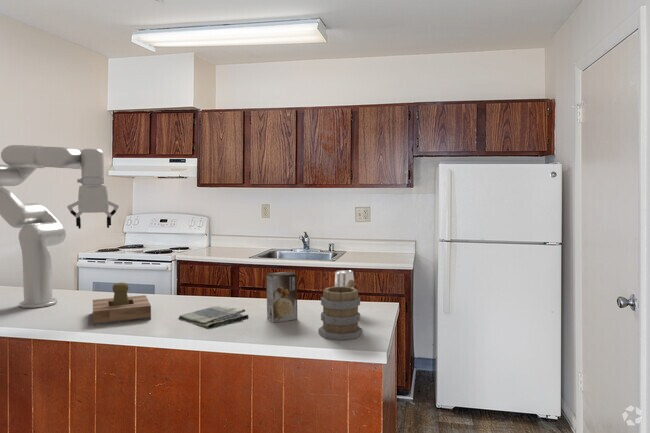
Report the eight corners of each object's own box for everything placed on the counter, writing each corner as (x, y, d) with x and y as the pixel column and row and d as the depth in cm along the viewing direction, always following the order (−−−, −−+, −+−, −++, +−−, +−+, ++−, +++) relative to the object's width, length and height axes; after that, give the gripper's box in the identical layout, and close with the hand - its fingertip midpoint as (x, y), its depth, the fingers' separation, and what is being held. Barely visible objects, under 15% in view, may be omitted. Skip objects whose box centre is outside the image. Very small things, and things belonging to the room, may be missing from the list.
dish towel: (176, 320, 165) (176, 311, 165) (219, 310, 179) (219, 302, 179) (208, 330, 153) (208, 320, 153) (251, 319, 167) (251, 310, 167)
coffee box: (290, 315, 170) (290, 270, 169) (297, 319, 165) (297, 273, 164) (266, 318, 166) (266, 272, 165) (272, 323, 160) (272, 275, 160)
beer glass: (356, 311, 177) (356, 270, 176) (349, 315, 170) (349, 273, 170) (339, 309, 180) (339, 269, 179) (331, 313, 173) (331, 272, 173)
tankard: (352, 342, 141) (353, 292, 140) (313, 337, 145) (313, 288, 145) (372, 324, 159) (373, 280, 158) (337, 320, 164) (337, 277, 163)
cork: (123, 316, 165) (122, 285, 164) (107, 315, 166) (107, 284, 166) (133, 312, 171) (133, 281, 170) (119, 311, 172) (118, 281, 172)
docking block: (93, 312, 173) (92, 299, 172) (145, 307, 181) (145, 295, 180) (93, 325, 157) (92, 311, 156) (151, 319, 164) (150, 305, 164)
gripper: (66, 181, 170) (67, 229, 171) (118, 182, 178) (119, 228, 179) (67, 182, 177) (68, 228, 178) (117, 182, 185) (118, 226, 186)
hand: (94, 227), depth 179 cm, fingers open, 9 cm apart
